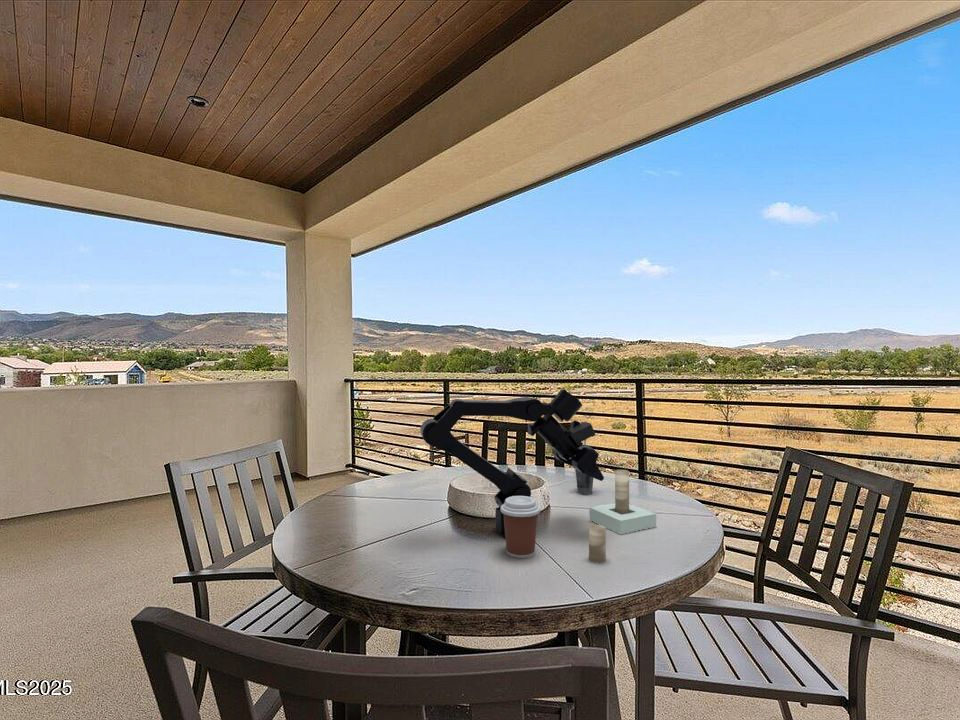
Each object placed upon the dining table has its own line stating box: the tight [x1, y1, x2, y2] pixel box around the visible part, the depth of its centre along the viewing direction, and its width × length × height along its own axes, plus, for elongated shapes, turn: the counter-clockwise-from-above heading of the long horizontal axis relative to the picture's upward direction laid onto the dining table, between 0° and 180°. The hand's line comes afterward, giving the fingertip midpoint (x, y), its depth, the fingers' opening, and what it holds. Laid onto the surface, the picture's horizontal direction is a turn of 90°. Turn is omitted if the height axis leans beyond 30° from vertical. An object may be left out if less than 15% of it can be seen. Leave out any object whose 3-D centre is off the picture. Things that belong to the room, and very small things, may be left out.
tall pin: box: [614, 469, 630, 515], centre depth 132 cm, size 4×4×14 cm
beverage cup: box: [575, 439, 594, 496], centre depth 161 cm, size 7×7×20 cm
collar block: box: [589, 502, 657, 535], centre depth 132 cm, size 12×12×4 cm
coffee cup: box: [500, 496, 541, 559], centre depth 113 cm, size 9×9×12 cm
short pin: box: [588, 524, 607, 564], centre depth 109 cm, size 4×4×7 cm
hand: (594, 475), depth 130 cm, fingers open, 9 cm apart
